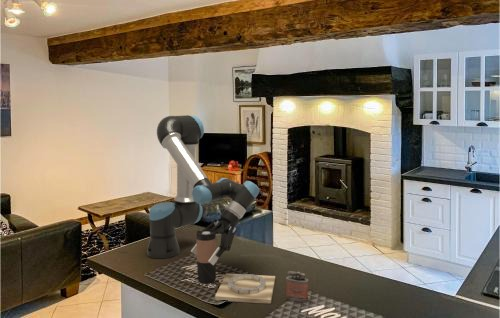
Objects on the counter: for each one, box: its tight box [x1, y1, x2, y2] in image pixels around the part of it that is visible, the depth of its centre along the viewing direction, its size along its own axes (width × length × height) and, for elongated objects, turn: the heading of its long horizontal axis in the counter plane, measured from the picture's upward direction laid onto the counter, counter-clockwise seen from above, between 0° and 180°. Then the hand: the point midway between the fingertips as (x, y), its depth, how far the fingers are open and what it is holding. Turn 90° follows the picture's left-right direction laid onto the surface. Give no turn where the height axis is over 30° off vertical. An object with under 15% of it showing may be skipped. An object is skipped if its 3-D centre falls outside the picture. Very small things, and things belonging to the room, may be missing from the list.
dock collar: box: [228, 273, 266, 294], centre depth 152 cm, size 14×14×2 cm
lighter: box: [285, 270, 309, 303], centre depth 144 cm, size 8×3×10 cm, turn 71°
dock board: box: [214, 273, 276, 305], centre depth 152 cm, size 20×20×2 cm
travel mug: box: [196, 228, 217, 285], centre depth 159 cm, size 8×8×20 cm
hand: (201, 258), depth 158 cm, fingers open, 13 cm apart
